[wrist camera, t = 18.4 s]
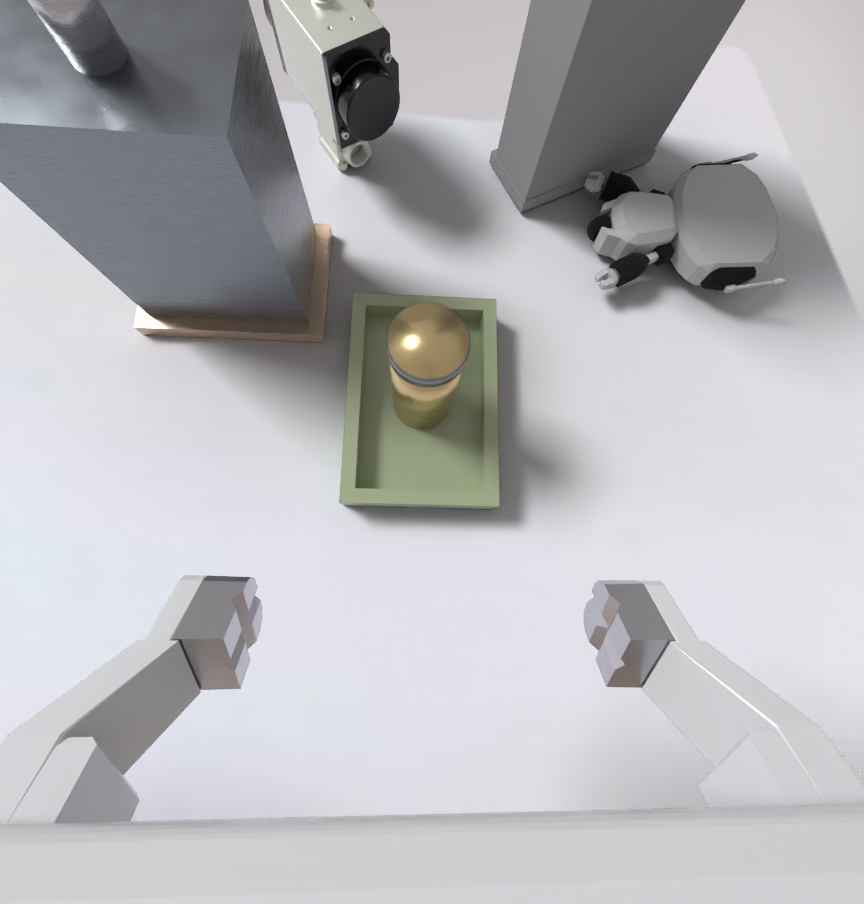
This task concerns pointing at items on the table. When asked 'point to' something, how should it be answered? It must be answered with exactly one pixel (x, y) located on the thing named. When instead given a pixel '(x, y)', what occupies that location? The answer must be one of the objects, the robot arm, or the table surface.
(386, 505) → the olive tray
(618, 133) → the upright grey panel
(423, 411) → the cartridge
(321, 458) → the table surface
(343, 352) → the table surface
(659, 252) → the robot toy
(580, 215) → the table surface
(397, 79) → the pneumatic valve
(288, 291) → the mounted unit
